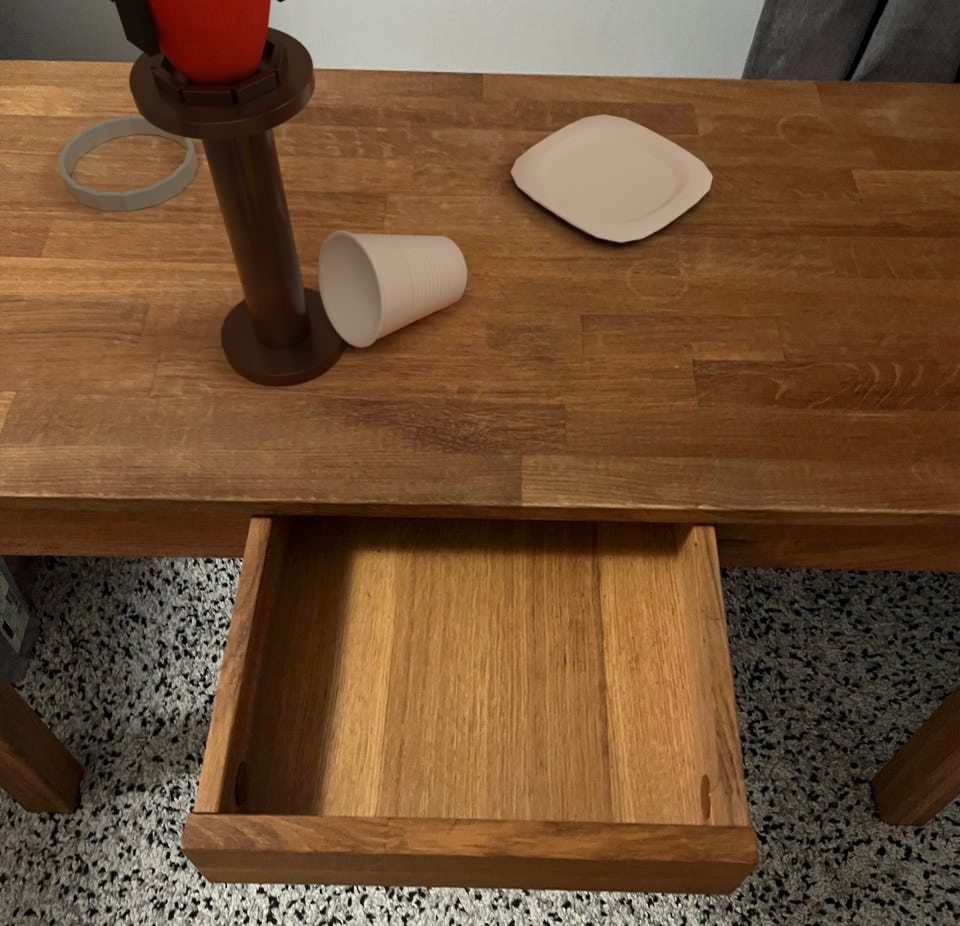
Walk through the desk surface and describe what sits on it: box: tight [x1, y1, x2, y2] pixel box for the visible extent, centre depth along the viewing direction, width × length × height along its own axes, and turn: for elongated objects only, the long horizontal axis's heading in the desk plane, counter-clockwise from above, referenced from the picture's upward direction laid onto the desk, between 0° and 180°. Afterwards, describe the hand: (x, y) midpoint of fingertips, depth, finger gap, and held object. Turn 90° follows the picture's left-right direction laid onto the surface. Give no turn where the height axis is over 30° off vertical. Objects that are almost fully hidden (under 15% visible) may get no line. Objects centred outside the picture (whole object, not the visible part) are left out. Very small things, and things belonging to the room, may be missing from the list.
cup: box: [317, 230, 468, 349], centre depth 77 cm, size 10×10×11 cm
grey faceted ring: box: [57, 114, 199, 212], centre depth 92 cm, size 14×14×2 cm
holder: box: [128, 26, 347, 387], centre depth 68 cm, size 12×12×27 cm
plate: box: [510, 114, 714, 245], centre depth 92 cm, size 18×18×2 cm
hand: (210, 18), depth 55 cm, fingers closed on apple, 9 cm apart
